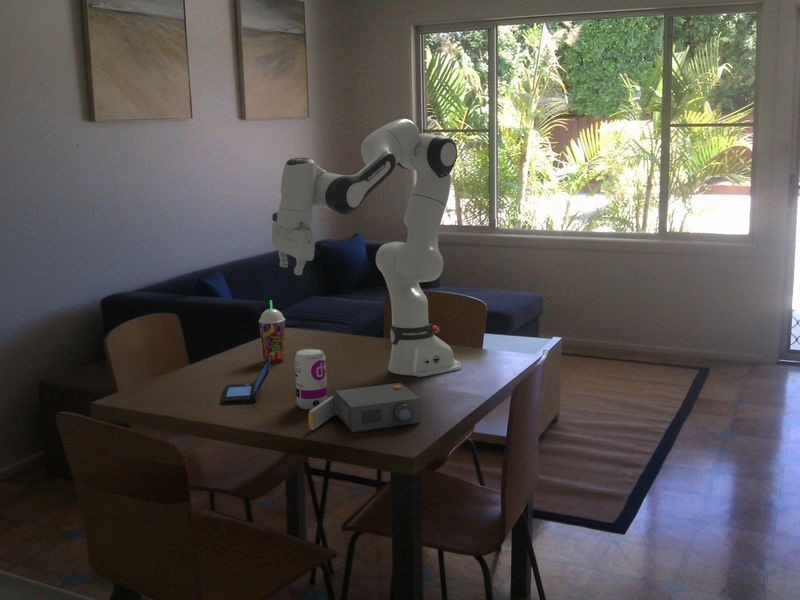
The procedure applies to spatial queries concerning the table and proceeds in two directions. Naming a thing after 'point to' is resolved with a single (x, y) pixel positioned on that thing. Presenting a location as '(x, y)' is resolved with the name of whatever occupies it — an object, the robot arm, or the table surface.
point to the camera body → (377, 407)
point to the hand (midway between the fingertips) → (290, 270)
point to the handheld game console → (245, 389)
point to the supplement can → (310, 378)
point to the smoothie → (272, 335)
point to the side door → (321, 413)
